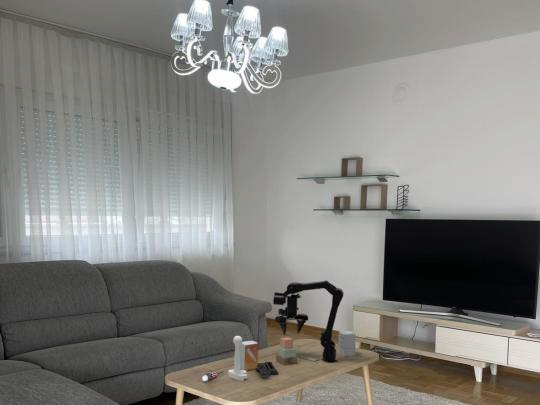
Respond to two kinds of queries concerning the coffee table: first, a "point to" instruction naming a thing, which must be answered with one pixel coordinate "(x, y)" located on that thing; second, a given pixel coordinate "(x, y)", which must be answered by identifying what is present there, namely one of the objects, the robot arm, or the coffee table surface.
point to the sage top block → (287, 352)
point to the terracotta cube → (286, 343)
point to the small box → (248, 355)
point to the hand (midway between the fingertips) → (291, 333)
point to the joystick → (237, 362)
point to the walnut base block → (286, 360)
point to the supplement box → (346, 343)
